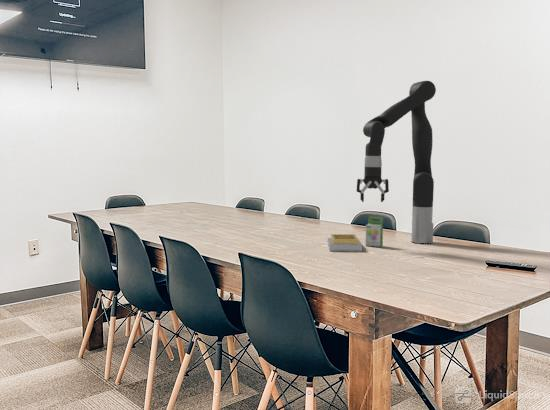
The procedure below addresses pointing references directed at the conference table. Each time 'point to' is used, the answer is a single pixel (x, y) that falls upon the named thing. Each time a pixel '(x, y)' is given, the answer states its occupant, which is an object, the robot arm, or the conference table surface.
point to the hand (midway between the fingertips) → (372, 201)
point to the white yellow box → (344, 242)
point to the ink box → (374, 232)
